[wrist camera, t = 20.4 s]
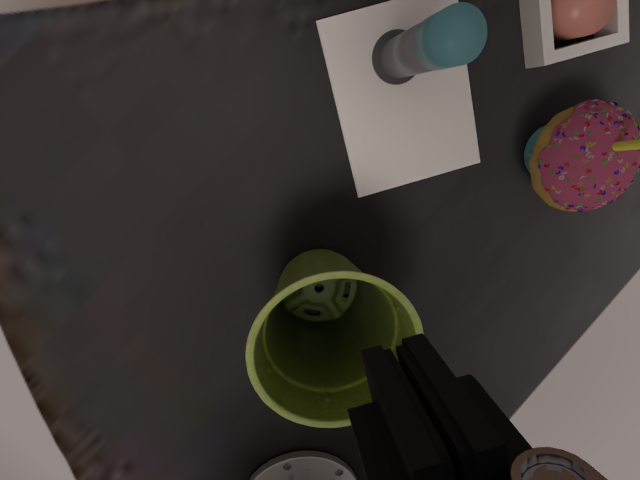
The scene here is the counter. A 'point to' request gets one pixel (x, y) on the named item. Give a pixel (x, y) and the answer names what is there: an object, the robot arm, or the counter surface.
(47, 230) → the counter surface
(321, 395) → the plant pot
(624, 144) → the cupcake
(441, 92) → the paper
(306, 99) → the counter surface
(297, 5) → the counter surface
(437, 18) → the marker
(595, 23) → the button
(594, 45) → the button housing
